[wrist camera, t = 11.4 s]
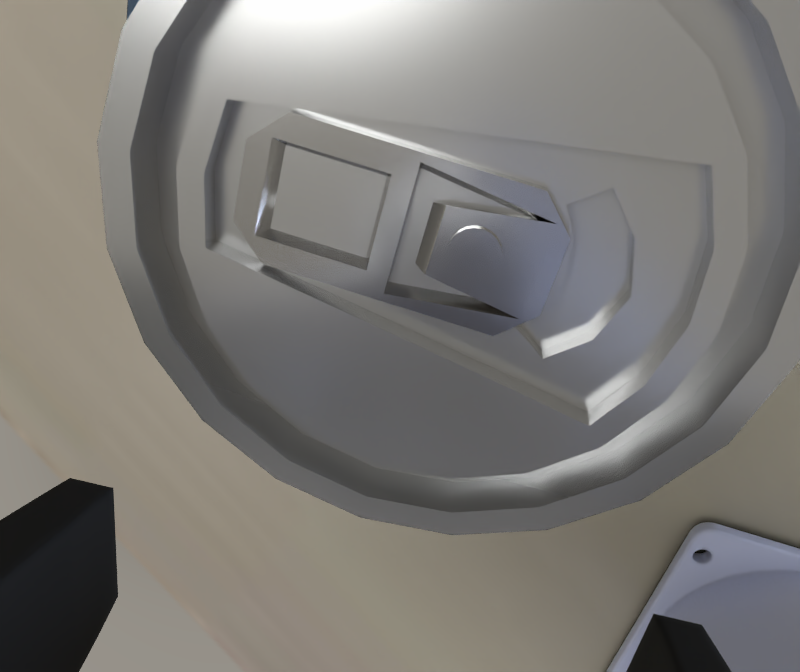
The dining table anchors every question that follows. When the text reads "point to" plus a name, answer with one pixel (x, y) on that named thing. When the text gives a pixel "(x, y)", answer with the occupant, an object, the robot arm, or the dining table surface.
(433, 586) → the dining table surface
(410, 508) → the beer can
